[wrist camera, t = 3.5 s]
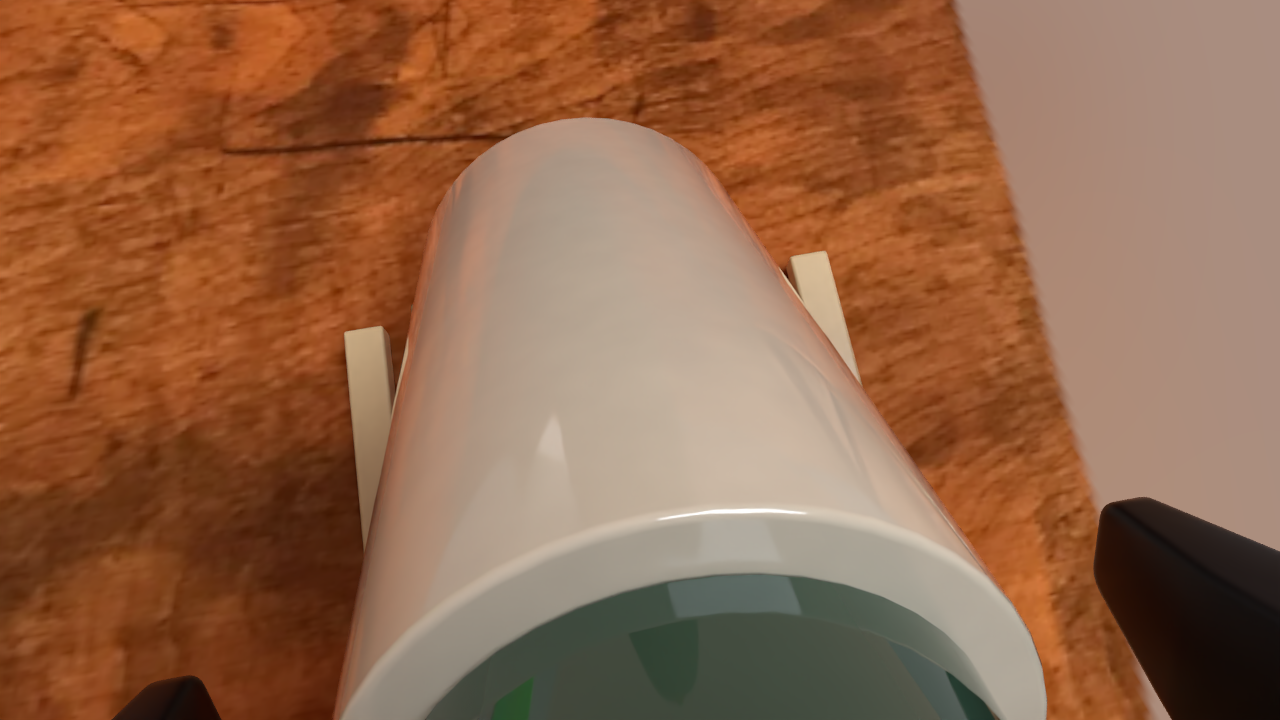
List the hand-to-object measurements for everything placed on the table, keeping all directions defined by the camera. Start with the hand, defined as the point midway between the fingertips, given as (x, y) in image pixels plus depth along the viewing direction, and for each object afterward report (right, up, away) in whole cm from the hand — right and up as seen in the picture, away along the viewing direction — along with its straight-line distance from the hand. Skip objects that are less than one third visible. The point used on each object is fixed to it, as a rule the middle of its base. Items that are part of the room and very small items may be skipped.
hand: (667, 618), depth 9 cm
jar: (0, -1, +9) cm, 9 cm away
